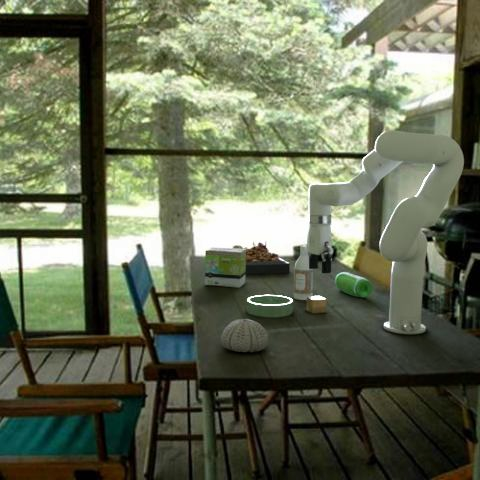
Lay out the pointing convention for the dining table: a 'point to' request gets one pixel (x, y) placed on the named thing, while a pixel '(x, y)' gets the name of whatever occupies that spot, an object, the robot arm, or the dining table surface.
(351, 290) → the speaker
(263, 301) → the bowl
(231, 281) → the tea box
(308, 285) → the bath foam
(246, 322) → the sea urchin shell
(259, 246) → the food platter
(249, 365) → the dining table surface
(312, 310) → the maple cube
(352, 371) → the dining table surface
